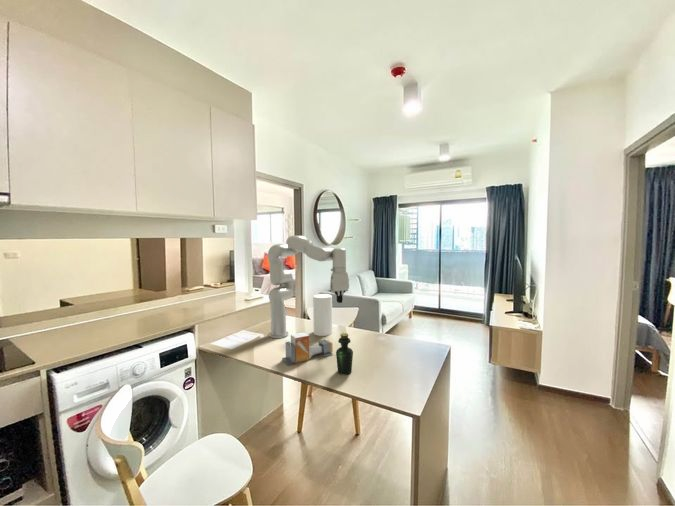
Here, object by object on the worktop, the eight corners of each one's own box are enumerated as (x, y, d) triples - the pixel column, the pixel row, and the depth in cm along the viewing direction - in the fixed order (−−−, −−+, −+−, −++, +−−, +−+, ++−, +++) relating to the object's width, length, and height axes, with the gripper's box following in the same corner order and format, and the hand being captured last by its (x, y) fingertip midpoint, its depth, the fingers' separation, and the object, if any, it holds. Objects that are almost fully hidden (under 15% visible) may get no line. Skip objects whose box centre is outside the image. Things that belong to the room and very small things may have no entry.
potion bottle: (340, 377, 129) (340, 338, 128) (333, 369, 137) (333, 333, 136) (356, 373, 132) (356, 335, 131) (348, 366, 140) (348, 330, 139)
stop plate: (282, 359, 148) (281, 343, 147) (289, 358, 150) (289, 341, 149) (287, 365, 141) (287, 348, 140) (295, 363, 143) (294, 346, 142)
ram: (304, 354, 153) (304, 343, 153) (327, 348, 161) (327, 338, 160) (309, 358, 148) (309, 347, 148) (332, 352, 155) (332, 341, 155)
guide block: (316, 351, 159) (316, 340, 158) (324, 349, 161) (324, 338, 161) (324, 356, 151) (324, 345, 151) (332, 354, 154) (332, 343, 153)
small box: (295, 363, 144) (295, 338, 143) (290, 358, 149) (290, 334, 148) (309, 359, 148) (309, 335, 147) (304, 355, 153) (304, 331, 153)
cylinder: (328, 336, 182) (328, 298, 180) (310, 334, 185) (310, 297, 184) (334, 330, 194) (334, 294, 192) (317, 328, 197) (317, 293, 196)
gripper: (331, 271, 152) (331, 305, 153) (354, 269, 159) (354, 302, 160) (324, 270, 158) (324, 302, 159) (346, 268, 166) (347, 299, 167)
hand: (339, 302), depth 160 cm, fingers closed
